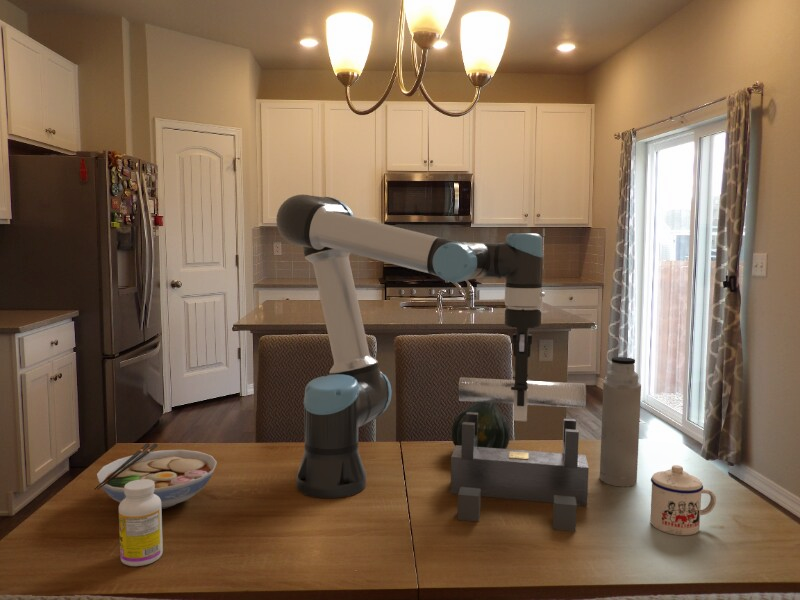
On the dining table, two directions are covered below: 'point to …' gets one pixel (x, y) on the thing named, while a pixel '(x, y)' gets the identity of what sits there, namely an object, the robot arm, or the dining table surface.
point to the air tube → (536, 394)
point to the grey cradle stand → (520, 468)
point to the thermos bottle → (620, 424)
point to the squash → (484, 426)
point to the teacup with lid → (678, 502)
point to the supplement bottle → (140, 524)
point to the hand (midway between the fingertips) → (520, 416)
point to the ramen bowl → (159, 473)
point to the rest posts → (561, 508)
